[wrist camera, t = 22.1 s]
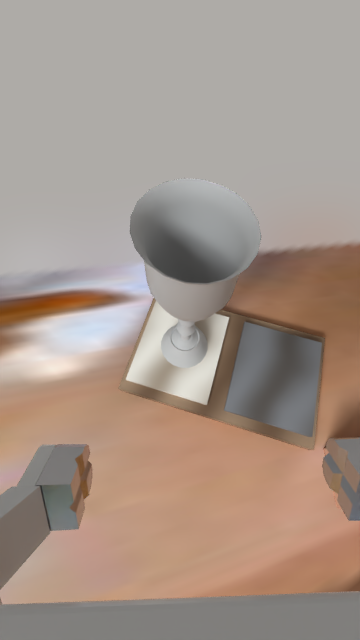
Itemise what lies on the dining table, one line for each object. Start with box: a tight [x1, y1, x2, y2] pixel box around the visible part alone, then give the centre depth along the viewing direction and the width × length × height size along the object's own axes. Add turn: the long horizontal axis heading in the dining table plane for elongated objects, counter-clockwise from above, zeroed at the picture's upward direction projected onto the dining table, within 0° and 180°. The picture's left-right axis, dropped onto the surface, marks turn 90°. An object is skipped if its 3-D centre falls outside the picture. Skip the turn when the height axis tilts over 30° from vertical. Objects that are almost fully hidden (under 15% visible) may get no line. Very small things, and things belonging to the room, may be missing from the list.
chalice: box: [130, 178, 261, 368], centre depth 24 cm, size 7×7×18 cm
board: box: [119, 298, 325, 450], centre depth 32 cm, size 20×12×2 cm, turn 73°
